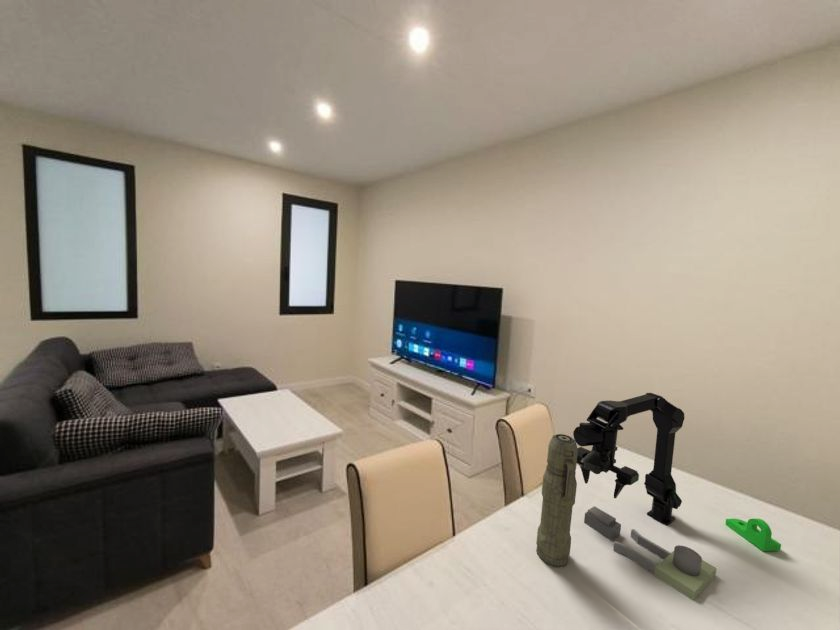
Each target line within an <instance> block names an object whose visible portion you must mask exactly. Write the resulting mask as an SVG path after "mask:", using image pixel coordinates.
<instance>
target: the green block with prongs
mask: <svg viewBox="0 0 840 630" xmlns="http://www.w3.org/2000/svg"><path fill="white" fill-rule="evenodd" d="M630 531H631V532H630V538H631V539H632V540H633V541H634V542H635V543H636V544H638V546H640V547H642V548H644V549H645V550H646V551H649V552H650V553H652V554H654V555H656V556H657V557H659V558H660V559H662V560H661V561H660V562H659V563H658V564H657V563H655V562H654V561H652V560H651V559H649V558H647V557H646V556H644V555H643V554H642V553H639V552H638V551H637V550H635V549H634V548H632V547H630V546H628V545H626V544H625V543H621V542H619V541H616V540H613V541H614V543H613V550H612V551H613V552H616V553H618V554H620V555H621V554H622V555H624V556H625V557H626V558H628V559H630V560H631V561H633V562H635V563H636V564H638V565H639V566H641V567H642V568H644V570H647V571H649V572H650V573H652V574H653V576H655V577H657V578H659V580H661V581H663V582H665V583H666V584H668V585H669V586H671V587H672V588H673V589H675V590H676V591H678V592H679V593H681V594H683V595H684V596H685V597H687V598H688V599H690V600H692V601H695V600H696V598H697V597H698V596H699V595H700V594H701V592H703V591H704V589H705V588H706V587H707V586H708V585H709V584H710V583H711V582H712V580H713V579H714V578H715V577H716V575H717V566H714V565H712V564H711V563H709V562H707V561H705V560H703V557H702V556H701V555H700V554H699V552H697V551H695V550H694V549H692V548H690V547H688V546H684V545H675V546H674V549H673V551H668V550H666V549H665V548H664V547H661V546H660V545H658V544H656V543H655V542H653V541H651V540H649V539H648V538H646V537H644V536H642V535H641V534H640V533H639V532H638V531H637V530H636V529H634V528H632V529H630Z"/></svg>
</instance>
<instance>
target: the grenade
mask: <svg viewBox="0 0 840 630" xmlns="http://www.w3.org/2000/svg"><path fill="white" fill-rule="evenodd" d="M547 447H548V449H547V458H546V463H547V465H546V466H545V467H546V468H545V471H544V473H543V475H542V484H541V495H542V503H541V504H542V505H541V513H540V523H539V525H538V527H537V535H536V551H535V552H536V555H537V557H538V558H539V559H540V561H542V562H543V563H545V564H546V565H548V566H550V567H554V568H556V569H557V568H564V567H566V566H567V565H568V564H569V557H570V553H571V544H572V537H571V536H572V535H571V525H572V515H573V507H574V505H575V503H576V496H577V487H578V486H577V485H578V482H577V478H576V472H577V471H576V470H577V465H578V464H577V455H578V449H577V448H578V444H577V443H576V441H575V439H574V437H571V436H569V435H567V434H563V433H558V434H553V435H552V437H551V439H550V441H549V443H548V446H547Z"/></svg>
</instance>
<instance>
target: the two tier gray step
mask: <svg viewBox="0 0 840 630" xmlns="http://www.w3.org/2000/svg"><path fill="white" fill-rule="evenodd" d="M583 520H584V521H583V523H584V524H585V525H586V526H589V527H590V528H591V529H593V530H595V531H596V532H598V533H599V534H600V535H601V536H602V537H605V538H606V539H607V540H609V541H611V542H613V541H615V539H617V538H618V537H620V536H621V529H622V528H621V527H622V524H621V523H620V522H618V521H617V518H616V517H614V516H612V515H610V514H609V513H608V512H605V510H604V511H603V510H601V509H600V508H598V506H595V505H593V506H592V507H591V508H589V509H587V511H586V512H585V513H584V519H583Z"/></svg>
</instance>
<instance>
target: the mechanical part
mask: <svg viewBox="0 0 840 630" xmlns="http://www.w3.org/2000/svg"><path fill="white" fill-rule="evenodd" d="M725 526H727V527H728V528H730V529H732V530H733V531H734V532H735V533H737V534H738V535H740V536H741V537H743V538H744V539H745V540H746V541H748V542H750V543H751V544H752V545H754V546H755V547H757V548H758V549H760V550H761V551H762V552H768V551H769V552H773V551H774V552H775V551H781V549H782V548H781V547H782V543H780V542H779V541H777V540H775V538H773V537H772V535H773V534H772V529H771V527H770V525H769V524H768V523H767V522H766V521H765V520H764V519H761V518H750V519H748V520H747V521H744V520H743V519H740V518H726V519H725ZM758 528H759V529H758Z"/></svg>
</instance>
